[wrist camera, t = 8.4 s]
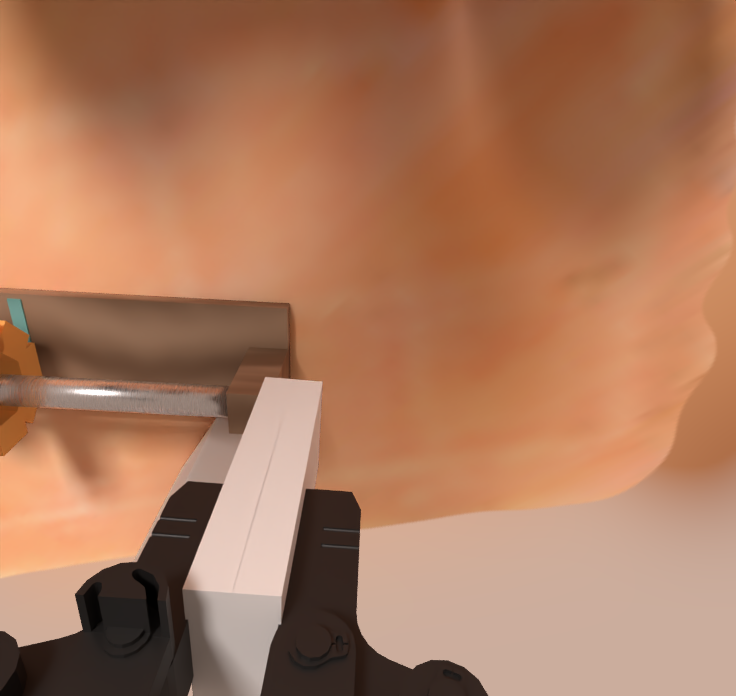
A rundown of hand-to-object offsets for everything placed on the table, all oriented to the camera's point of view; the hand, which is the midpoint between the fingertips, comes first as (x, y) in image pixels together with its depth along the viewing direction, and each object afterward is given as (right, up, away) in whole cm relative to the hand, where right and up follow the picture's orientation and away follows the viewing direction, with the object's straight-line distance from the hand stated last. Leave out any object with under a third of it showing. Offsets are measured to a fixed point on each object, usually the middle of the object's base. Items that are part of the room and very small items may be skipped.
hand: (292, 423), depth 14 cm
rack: (-18, +2, +29) cm, 34 cm away
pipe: (-18, -1, +24) cm, 30 cm away
